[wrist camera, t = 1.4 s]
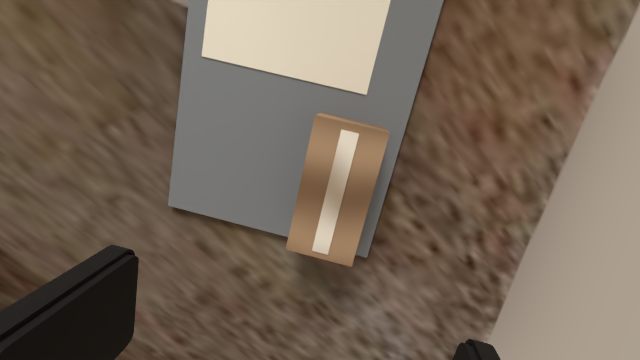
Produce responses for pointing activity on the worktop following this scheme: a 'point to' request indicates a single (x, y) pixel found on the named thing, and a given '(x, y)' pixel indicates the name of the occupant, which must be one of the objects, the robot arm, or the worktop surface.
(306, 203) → the block
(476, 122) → the worktop surface
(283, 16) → the mat
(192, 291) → the worktop surface
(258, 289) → the worktop surface
